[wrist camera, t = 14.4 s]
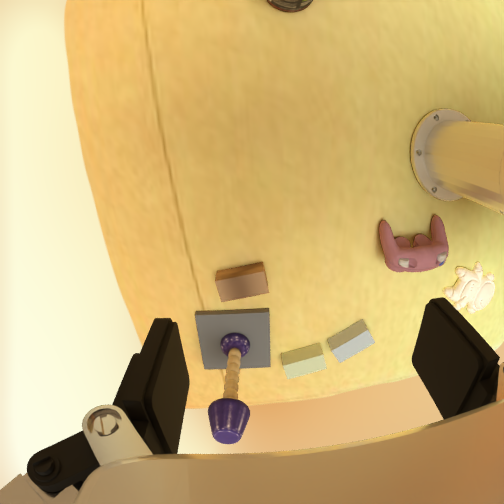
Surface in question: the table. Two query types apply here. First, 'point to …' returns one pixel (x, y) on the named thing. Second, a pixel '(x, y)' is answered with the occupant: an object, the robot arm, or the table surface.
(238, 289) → the brick
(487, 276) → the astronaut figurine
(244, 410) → the toy lamp
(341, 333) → the brick
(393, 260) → the video game controller
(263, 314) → the pad
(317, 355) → the brick
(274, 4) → the supplement bottle
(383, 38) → the table surface
